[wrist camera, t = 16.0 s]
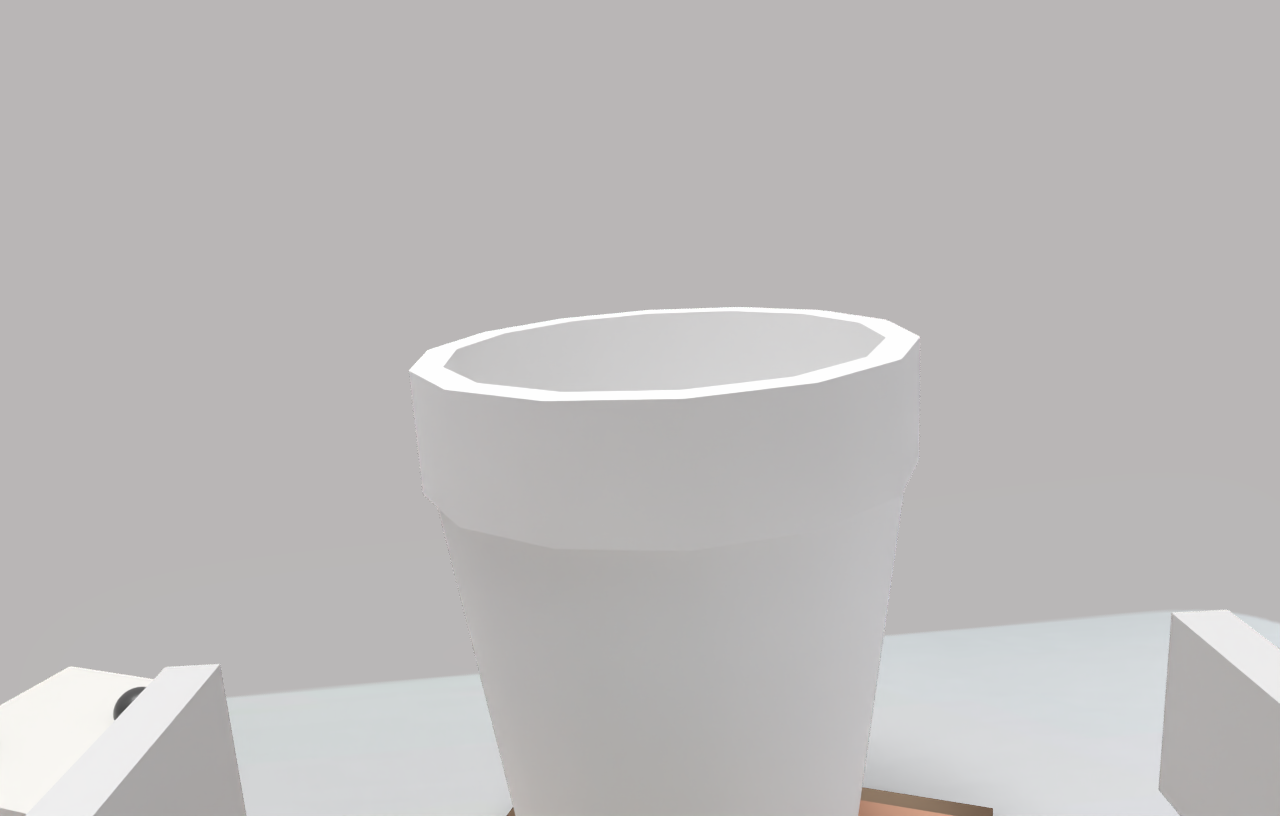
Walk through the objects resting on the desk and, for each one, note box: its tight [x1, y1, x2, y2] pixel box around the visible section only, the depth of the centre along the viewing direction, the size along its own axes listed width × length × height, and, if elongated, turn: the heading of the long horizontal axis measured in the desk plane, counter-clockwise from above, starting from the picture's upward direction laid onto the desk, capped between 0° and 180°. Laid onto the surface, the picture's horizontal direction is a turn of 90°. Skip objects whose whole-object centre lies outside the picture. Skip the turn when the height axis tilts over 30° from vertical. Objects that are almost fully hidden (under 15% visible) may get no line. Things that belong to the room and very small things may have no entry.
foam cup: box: [409, 307, 920, 816], centre depth 21 cm, size 10×9×13 cm
